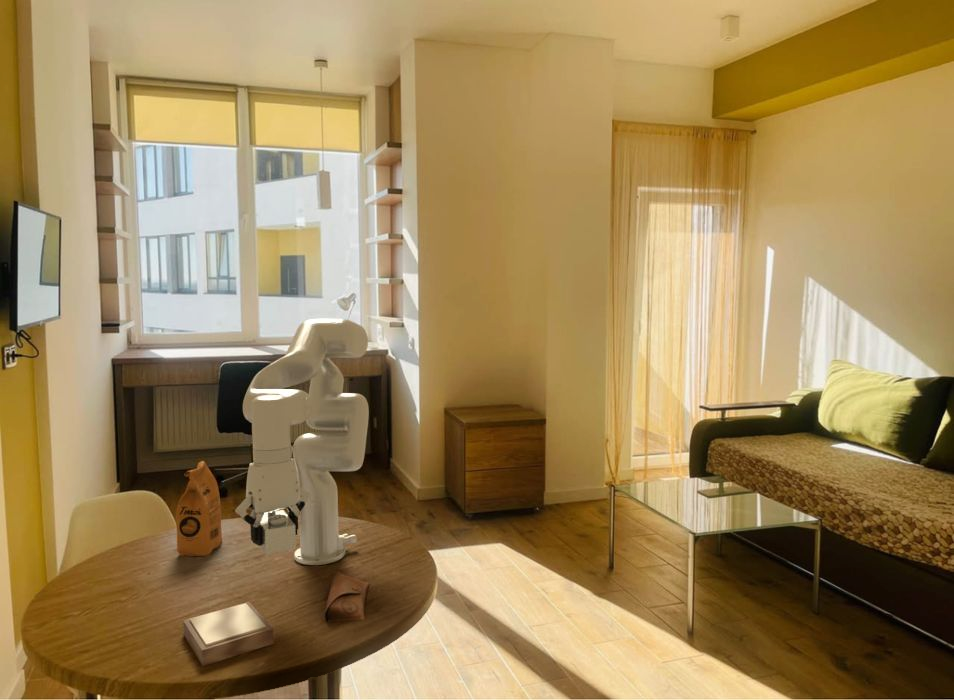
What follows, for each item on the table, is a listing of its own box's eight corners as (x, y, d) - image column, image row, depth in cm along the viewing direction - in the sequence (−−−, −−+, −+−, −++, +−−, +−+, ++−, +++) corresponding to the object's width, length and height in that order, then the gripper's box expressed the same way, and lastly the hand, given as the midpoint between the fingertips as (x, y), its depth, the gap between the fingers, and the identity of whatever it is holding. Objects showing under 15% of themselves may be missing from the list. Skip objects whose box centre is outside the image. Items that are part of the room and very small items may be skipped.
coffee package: (170, 557, 174) (165, 472, 172) (191, 539, 186) (187, 460, 184) (209, 557, 173) (205, 472, 171) (228, 539, 186) (224, 460, 184)
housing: (284, 532, 150) (283, 504, 149) (296, 549, 140) (295, 519, 139) (255, 537, 147) (254, 508, 146) (265, 554, 137) (264, 524, 137)
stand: (249, 615, 143) (249, 599, 142) (273, 643, 131) (272, 626, 131) (183, 634, 135) (182, 618, 135) (202, 666, 124) (201, 648, 123)
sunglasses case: (367, 619, 141) (349, 593, 140) (337, 638, 140) (319, 612, 139) (370, 582, 158) (354, 558, 157) (343, 598, 158) (328, 575, 157)
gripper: (300, 445, 150) (303, 524, 152) (223, 459, 138) (226, 545, 140) (318, 451, 145) (321, 532, 147) (240, 466, 133) (244, 555, 134)
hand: (275, 538), depth 143 cm, fingers closed on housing, 7 cm apart
